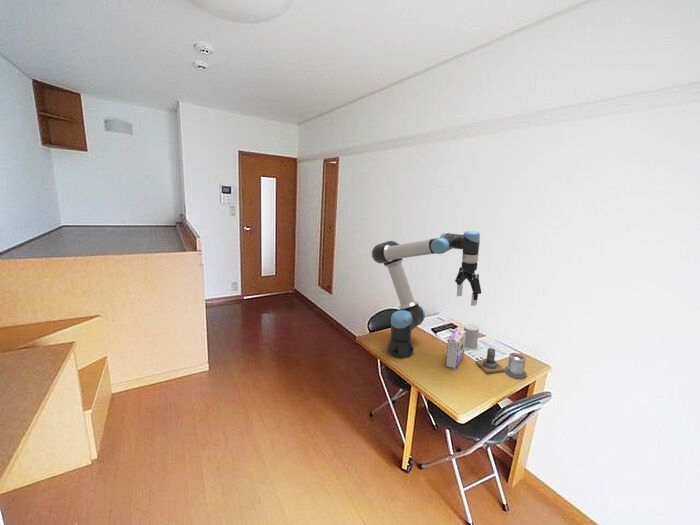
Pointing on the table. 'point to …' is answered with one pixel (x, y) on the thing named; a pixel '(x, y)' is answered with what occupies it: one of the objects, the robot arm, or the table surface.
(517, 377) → the coaster
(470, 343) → the cup
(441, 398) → the table surface
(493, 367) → the post stand
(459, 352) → the candy box
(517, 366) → the grey cylinder
